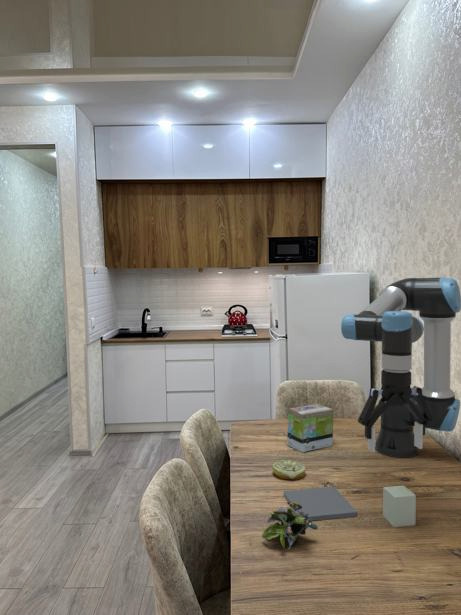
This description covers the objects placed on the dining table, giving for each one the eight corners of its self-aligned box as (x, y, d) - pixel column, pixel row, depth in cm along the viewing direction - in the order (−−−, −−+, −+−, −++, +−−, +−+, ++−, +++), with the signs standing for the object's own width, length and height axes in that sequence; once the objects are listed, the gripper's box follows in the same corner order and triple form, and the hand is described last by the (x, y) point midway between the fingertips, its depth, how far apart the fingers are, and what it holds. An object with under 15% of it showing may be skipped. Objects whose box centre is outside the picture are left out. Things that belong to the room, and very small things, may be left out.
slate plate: (334, 490, 144) (334, 486, 144) (357, 516, 128) (357, 511, 128) (283, 494, 141) (283, 490, 141) (300, 521, 125) (300, 517, 125)
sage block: (403, 513, 129) (403, 485, 129) (415, 525, 123) (415, 495, 123) (382, 515, 128) (383, 487, 128) (394, 527, 122) (394, 497, 122)
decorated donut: (296, 484, 148) (296, 473, 148) (266, 476, 155) (266, 465, 154) (310, 473, 157) (310, 462, 157) (282, 466, 163) (282, 455, 163)
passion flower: (294, 556, 119) (322, 518, 119) (291, 574, 109) (321, 532, 108) (259, 525, 122) (286, 488, 122) (252, 540, 111) (282, 499, 111)
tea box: (303, 453, 174) (303, 414, 173) (286, 445, 183) (286, 408, 182) (333, 446, 182) (334, 408, 181) (316, 438, 190) (316, 402, 189)
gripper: (430, 365, 130) (429, 441, 131) (345, 368, 126) (345, 446, 127) (447, 370, 123) (446, 450, 124) (358, 374, 118) (357, 457, 120)
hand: (394, 448), depth 125 cm, fingers open, 13 cm apart
